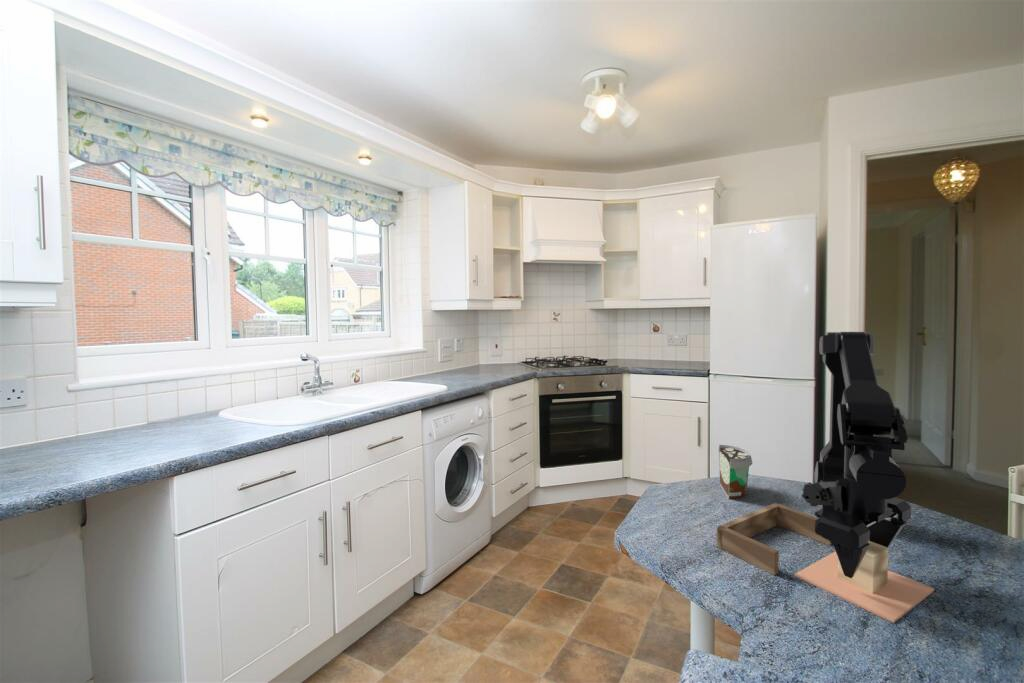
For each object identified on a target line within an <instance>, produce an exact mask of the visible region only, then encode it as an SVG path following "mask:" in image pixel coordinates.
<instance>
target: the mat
mask: <svg viewBox="0 0 1024 683" xmlns="http://www.w3.org/2000/svg"><path fill="white" fill-rule="evenodd" d="M794 577H796V578H798V579H800V580H802V581H804V582H806V583H808V584H811V585H813V586H815V587H817V588H819V589H821V590H823V591H825V592H827V593H828V594H829V593H830V594H832V595H834V596H836V597H838V598H840V599H842V600H844V601H847V602H848V603H851V604H852V605H855V606H858V607H859V608H861V609H864V610H865V611H868V612H870V613H871V614H873V615H876V616H878V617H880V618H883V619H884V620H886V621H889V622H891V623H893V624H895V623H896V621H898V620H900V619H901V618H902V617H903V616H905V615H906V614H907V613H908V612H909V611H911V610H912V609H913V608H914V607H916V606H917V605H918V604H919V603H921V602H923V600H925V599H926V598H927V597H928V596H929V595H931V594H932V593H933V592H934V591H935V588H934V587H931V586H929V585H928V584H927V585H926V584H924V583H921V582H919V581H916V580H914V579H912V578H908V577H907V576H903V575H901V574H898V573H896V572H894V571H891V570H889V569H888V578H887V584H886V585H884V586H883V587H881V588H880V589H878V590H877V591H876V592H874V593H873V594H872V593H870V592H868V591H866V590H863V589H861V588H859V587H857V586H854V585H852V584H850V583H848V582H845V581H843V580H841V579H839V578H838V556H837V553H836V551H833V552H831V553H830V554H828V555H826V556H824V557H823V558H821V559H818V560H817V561H815V562H814V563H812V564H810V565H808V566H807V567H804V568H803V569H801V570H799V571H798V572H796V573H794Z"/></svg>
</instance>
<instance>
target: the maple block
mask: <svg viewBox="0 0 1024 683" xmlns="http://www.w3.org/2000/svg"><path fill="white" fill-rule="evenodd" d="M868 543H869V544H870V545H869V547H868V549H867V551H866V553H865V555H864V557H863V559H862V561H861V563H860V565H859V567H858V569H857V571H856V573H855V575H854V576H853V578H849V577H847V576H845V575H844V573H843V570H842V567H841V564H840V562H839V559H838V578H839V579H841V580H843V581H845V582H848V583H850V584H852V585H854V586H857V587H859V588H861V589H863V590H866V591H868V592H870V593H872V594H873V593H874V592H876V591H877V590H878V589H880V588H881V587H883V586H884V585H886V584H887V578H888V570H889V548H890V547H889V548H888V547H885V546H882V545H879V544H876V543H874V542H871V541H869V540H868Z"/></svg>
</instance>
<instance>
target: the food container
mask: <svg viewBox="0 0 1024 683" xmlns="http://www.w3.org/2000/svg"><path fill="white" fill-rule="evenodd" d="M718 456H719V457H718V459H719V460H718V461H719V462H718V465H719V469H718V470H719V485H720V487H721V489H722V491H723V492H724V493H725V495H726V497H727V498H728V500H740V499H743V498H745V497H746V496H747V492H748V481H749V474H750V473H749V470H750V466H752V465H753V458H752V456H751V453H750V451H748V450H746V449H744V448H741V447H739V446H735V445H734V446H733V445H726V444H718Z"/></svg>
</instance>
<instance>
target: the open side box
mask: <svg viewBox="0 0 1024 683" xmlns="http://www.w3.org/2000/svg"><path fill="white" fill-rule="evenodd" d="M819 518H820V517H818V516H814V515H811V514H808V513H805V512H803V511H800V510H797V509H794V508H791V507H788V506H785V505H784V504H780V503H777V502H774V503H772V504H769V505H767V506H764V507H763V508H760V509H757V510H755V511H753V512H749V513H748V514H745V515H742V516H740V517H738V518H735V519H732V520H731V521H728V522H726V523H723V524H720V525H718V526H717V527H716V548H718V547H719V548H718V549H720V548H721V549H720V550H722V549H723V550H722V551H724V550H725V551H724V552H726V551H727V552H726V553H728V554H730V553H731V554H730V555H732V556H734V557H736V558H738V559H741V560H742V561H744V562H747V563H748V564H750V565H753V566H755V567H757V568H759V569H761V570H763V571H765V572H766V573H769V574H771V575H773V576H776V575H777V574H779V566H780V565H779V564H780V563H779V562H780V561H779V555H780V552H779V551H780V550H778V549H776V548H774V547H771V546H769V545H766V544H765V543H762V542H760V541H758V540H756V539H754V538H752V537H754V536H756V535H758V534H760V533H763V532H765V531H767V530H769V529H771V528H774V527H776V526H779V527H782V528H784V529H787V530H790V531H792V532H794V533H797V534H799V535H803V536H804V537H808V538H810V539H811V540H815V541H818V542H820V543H822V544H825V545H828V546H831V545H833V544H832V543H831V542H830V541H829V540H827V539H825V538H823V537H822V536H821V535H818V534H816V532H815V520H817V519H819Z"/></svg>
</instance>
